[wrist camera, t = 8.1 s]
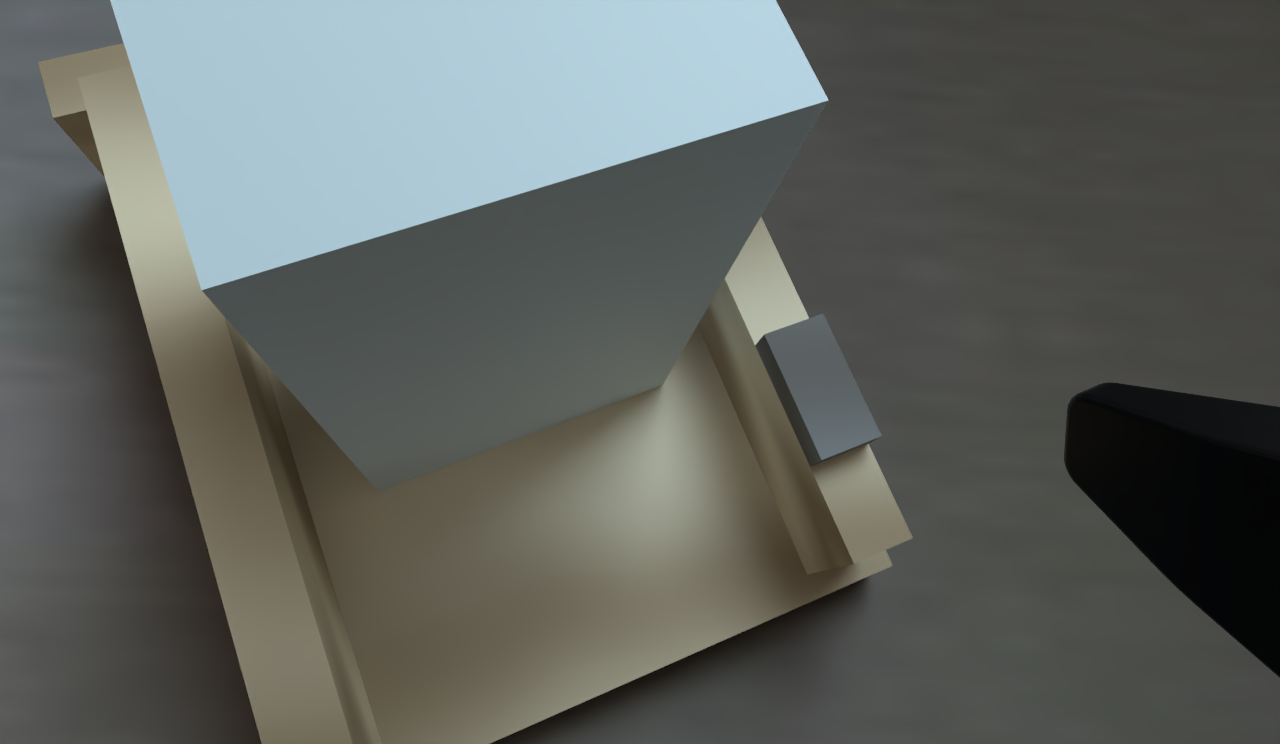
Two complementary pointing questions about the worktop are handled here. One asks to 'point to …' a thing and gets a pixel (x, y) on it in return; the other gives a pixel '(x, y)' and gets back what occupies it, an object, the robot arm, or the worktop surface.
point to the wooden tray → (494, 498)
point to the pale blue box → (466, 195)
